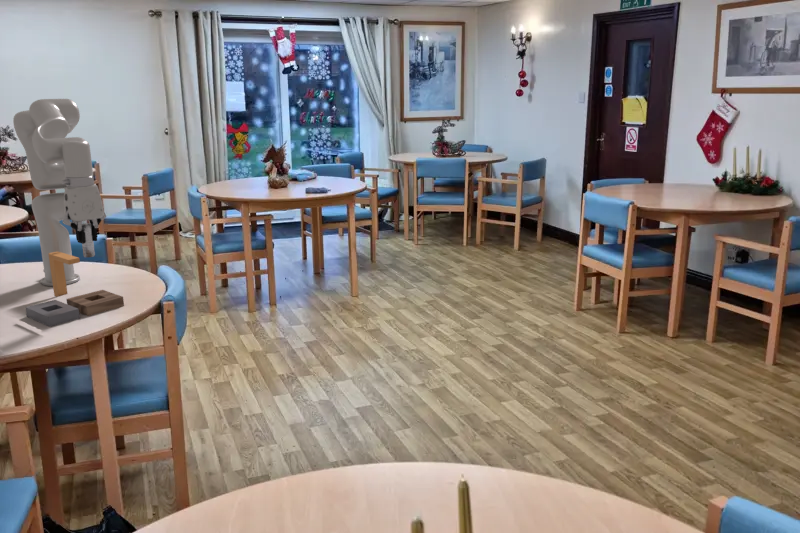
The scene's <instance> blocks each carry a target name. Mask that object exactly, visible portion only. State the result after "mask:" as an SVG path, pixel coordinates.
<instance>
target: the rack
mask: <svg viewBox="0 0 800 533" xmlns="http://www.w3.org/2000/svg"><path fill="white" fill-rule="evenodd" d="M25 313H26V317H27V318H29V319H31V320H33V321H36V322H39V323H40V324H43V325H45V326H47V327H50V328H51V327H54V326H57V325H61V324H65V323H68V322H69V323H70V322H71V321H75V320H79V319H80V318H81V317H80V313H79V309H78V308H75V307H73V306H70V305H68V304H67V303H65V302H62V301H60V300H57V299H53V300H49V301H44V302H42V303H41V302H40V303H36V304H33V305H29V306H25Z"/></svg>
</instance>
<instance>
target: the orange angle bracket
mask: <svg viewBox="0 0 800 533" xmlns="http://www.w3.org/2000/svg"><path fill="white" fill-rule="evenodd" d="M48 255H49V262H50V269H51V276H52V283H53V286H52V287H53V295H54V297H56V298H57V297H61V296H65V295H69V294H68V287H67V284H66V279H65V271H64V264H63V263H66V264H69V265H70V264H73V265H74V264H79V263H80V262H81V261H80V257H78V256H75V255H73V254H72V255H68V254H65V253H62V252H52V253H48Z"/></svg>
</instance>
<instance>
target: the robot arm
mask: <svg viewBox="0 0 800 533" xmlns="http://www.w3.org/2000/svg"><path fill="white" fill-rule="evenodd" d="M80 114H81V113H80V110H79V107H78V105H77V103H75V101H73V100H72V99H69V98H43V99H42V98H41V99H37V100H35V101H33V102H32V103H31V104H30V106H29V108H28V110H22V111H19V112H17V113H15V115H14V116H13V118H12V119H13V127H14V132H15V134H16V136H17V138H18V140H19V142H20V143H21V145H22V147H23V149H24V152H25V155H26V159H27V164H28V165H27V166H28V171H29V176H30V180H31V184H32V185H33V187H34V188H35V189H36V190H39V191H49V190H62V189H63V190H64V192H52V193H45V194H41V195H37V196H36V197H34V198H33V199H32V201H31V209H32V213H33V216H34V219H35V223H36V225H37V226H36V227H37V232H38V239H39V244H40V250H41V252H40V253H41V258H42V259H41V260H42V266H43V271H42V272H43V273H44V277H42V278H41V279H40V284H41V285H43V286H48V287H53V283H52V276H51V269H50V262H49V255H48V253H52V252H62V253H65V254H68V255H72V256H73V254H72V253H73V252H72V245H71V244H72V243H71V237H70V233H69V230H68V229H67V227H65V226H64V225H66V226H68V227H70V228H72V229H73V230H74V231H75V237H76V238H75V239H76V241H77V243H79V244H81V245H82V244H84V243H85V237H84V231H82V224H83V222H84V221H88V223H91V226H92V234H93V242H97V241H98V228H99V225H100V223H101V222H102V221H103V220H105V218H106V217H107V215H106V213H105V212H104V207H103V206H104V205H103V200H102V196H101V192H100V189H99V186H98V185H97V184H95V177H94V172H93V170H94V169H93V163H92V161H93V160H92V153H91V145H90V143H89V142H88V141H87V140H85V139H84V138H83V137H80V136H78V137H77V136H76V137H73V136H72V137H67V136H68V135H69V134H70V133H72V131H73V130H74V129H75V128H76V127H77V125H78V123H79V122H80V117H81V116H80ZM60 221H62V223H61V222H60ZM63 264H64V271H65V279H66V285H70V284H74V283H76V282H78V281H80V279H81V277H80V275H79V274H78V273H75V267H74V266H75V265H74V264H70V265H69V264H66V263H63Z"/></svg>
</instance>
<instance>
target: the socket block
mask: <svg viewBox="0 0 800 533" xmlns="http://www.w3.org/2000/svg"><path fill="white" fill-rule="evenodd" d="M124 302H125V299H124V296H122V295H119V294H117V293H113V292H111V291H108V290H105V289H100V290H96V291H93V292H89V293H88V292H87V293H84V294H81V295H77V296H73V297H69V298H66V304H68V305H70V306H73V307H75V308H78V309H79V314H81V315H84V316H87V317H90V316H93V315H98V314H100V313H104V312H107V311H111V310H114V309H119V308H121V307H125V303H124Z"/></svg>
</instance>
